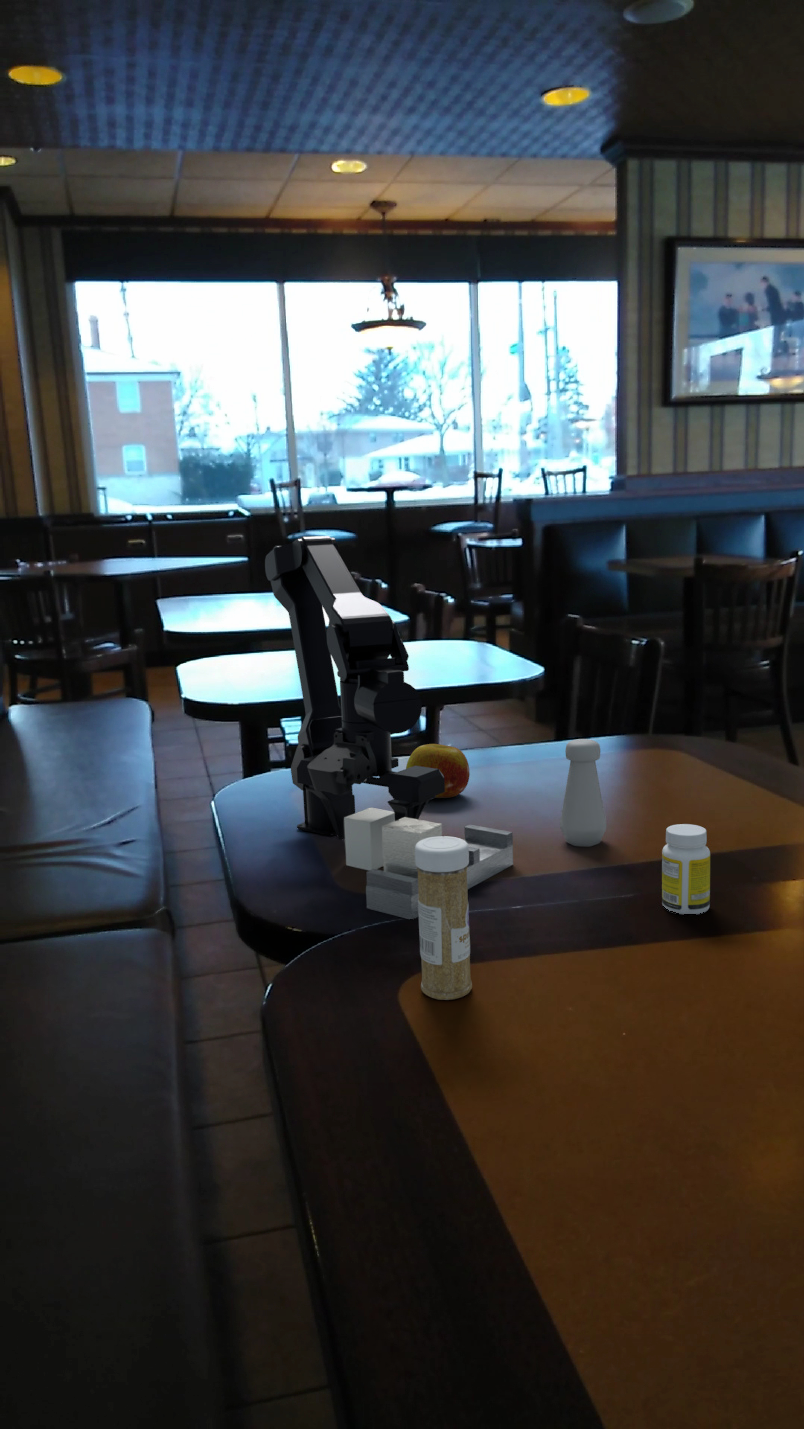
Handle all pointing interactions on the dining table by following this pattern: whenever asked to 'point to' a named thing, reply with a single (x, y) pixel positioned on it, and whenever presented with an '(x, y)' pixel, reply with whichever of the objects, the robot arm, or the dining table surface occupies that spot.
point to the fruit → (443, 766)
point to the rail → (473, 878)
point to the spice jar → (443, 916)
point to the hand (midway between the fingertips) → (371, 845)
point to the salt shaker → (583, 796)
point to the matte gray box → (365, 837)
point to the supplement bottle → (686, 870)
